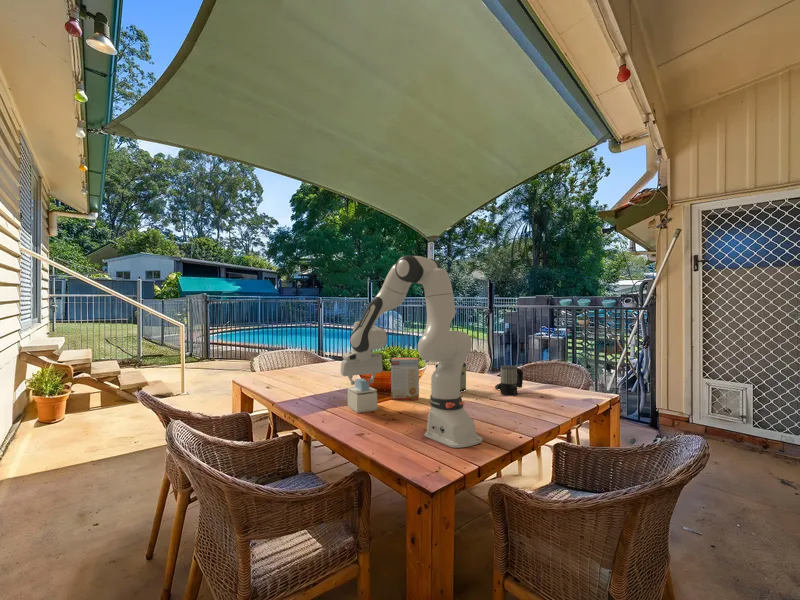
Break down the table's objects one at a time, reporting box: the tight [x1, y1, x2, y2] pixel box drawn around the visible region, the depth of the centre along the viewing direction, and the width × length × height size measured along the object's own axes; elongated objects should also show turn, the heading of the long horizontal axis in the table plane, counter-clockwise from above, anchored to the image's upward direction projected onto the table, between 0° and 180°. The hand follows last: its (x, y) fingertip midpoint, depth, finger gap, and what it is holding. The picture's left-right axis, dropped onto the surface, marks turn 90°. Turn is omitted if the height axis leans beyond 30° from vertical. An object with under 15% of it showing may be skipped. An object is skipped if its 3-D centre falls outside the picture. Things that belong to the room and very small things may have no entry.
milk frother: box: [494, 364, 524, 396], centre depth 207 cm, size 14×16×15 cm
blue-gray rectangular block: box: [354, 378, 370, 391], centre depth 178 cm, size 10×4×4 cm, turn 24°
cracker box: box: [390, 357, 420, 401], centre depth 195 cm, size 14×6×21 cm, turn 84°
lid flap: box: [347, 386, 378, 394], centre depth 178 cm, size 12×10×1 cm
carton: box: [347, 389, 378, 414], centre depth 178 cm, size 12×10×8 cm
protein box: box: [435, 362, 467, 393], centre depth 208 cm, size 10×16×16 cm
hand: (362, 383), depth 178 cm, fingers open, 8 cm apart
